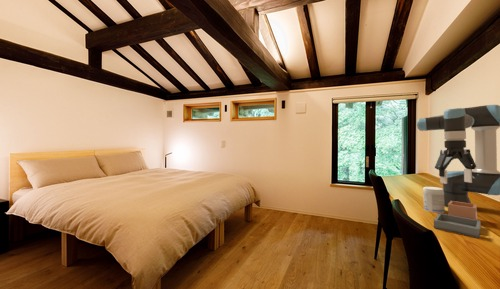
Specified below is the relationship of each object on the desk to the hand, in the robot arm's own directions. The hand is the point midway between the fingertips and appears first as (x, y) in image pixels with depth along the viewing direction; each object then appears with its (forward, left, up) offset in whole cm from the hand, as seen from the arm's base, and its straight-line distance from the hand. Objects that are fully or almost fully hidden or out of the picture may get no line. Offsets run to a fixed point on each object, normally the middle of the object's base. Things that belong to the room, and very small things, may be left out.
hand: (455, 182), depth 100 cm
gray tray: (0, 0, -23) cm, 23 cm away
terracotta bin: (-14, -8, -23) cm, 28 cm away
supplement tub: (-13, -23, -23) cm, 35 cm away
